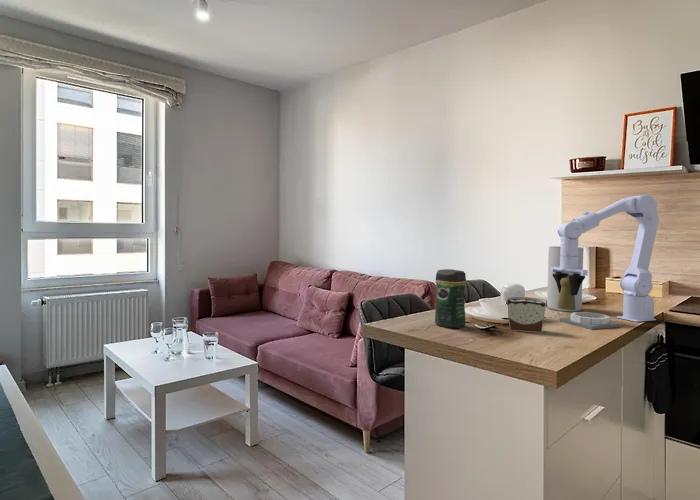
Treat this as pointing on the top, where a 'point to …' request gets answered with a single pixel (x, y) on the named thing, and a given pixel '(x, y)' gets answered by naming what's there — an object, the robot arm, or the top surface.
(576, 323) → the socket holder
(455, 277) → the coffee jar
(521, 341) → the top surface
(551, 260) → the cylinder vase
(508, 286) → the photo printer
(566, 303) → the cork
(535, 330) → the food container
